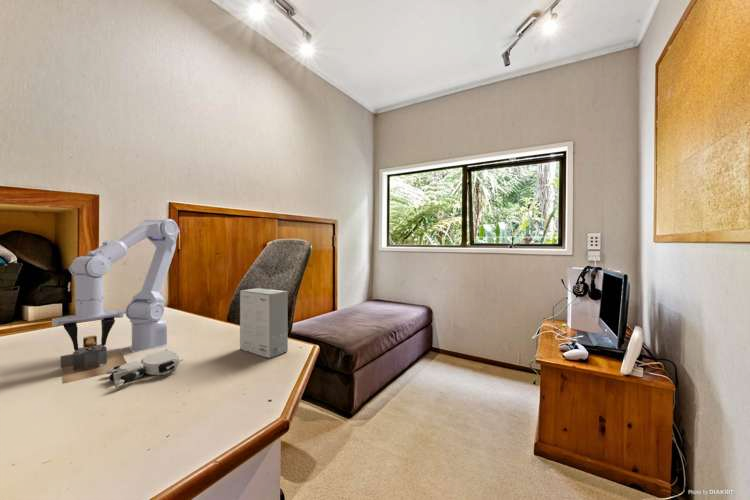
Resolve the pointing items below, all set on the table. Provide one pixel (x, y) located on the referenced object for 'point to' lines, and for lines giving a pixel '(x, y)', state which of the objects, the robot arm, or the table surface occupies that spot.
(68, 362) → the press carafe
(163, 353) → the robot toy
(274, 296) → the hard drive box
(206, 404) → the table surface
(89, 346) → the plunger
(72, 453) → the table surface
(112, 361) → the walnut board
